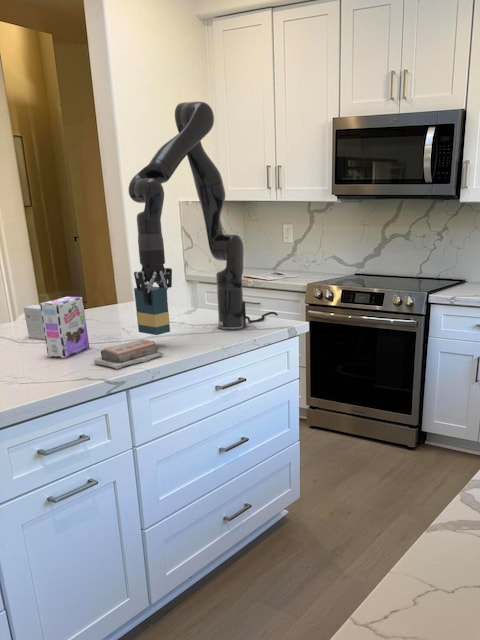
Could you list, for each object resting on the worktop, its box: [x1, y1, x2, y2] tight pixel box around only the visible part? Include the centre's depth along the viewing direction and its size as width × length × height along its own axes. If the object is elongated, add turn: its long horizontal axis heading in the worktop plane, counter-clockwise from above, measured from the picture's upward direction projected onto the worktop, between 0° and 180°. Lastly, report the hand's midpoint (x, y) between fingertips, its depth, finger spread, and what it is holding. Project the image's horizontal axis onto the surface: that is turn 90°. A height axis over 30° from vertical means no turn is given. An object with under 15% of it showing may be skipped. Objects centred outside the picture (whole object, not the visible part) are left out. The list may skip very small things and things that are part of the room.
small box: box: [23, 304, 46, 341], centre depth 206 cm, size 8×6×10 cm
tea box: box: [133, 285, 171, 336], centre depth 194 cm, size 14×6×8 cm
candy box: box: [39, 296, 90, 359], centre depth 186 cm, size 14×6×16 cm, turn 168°
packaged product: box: [93, 339, 164, 370], centre depth 180 cm, size 18×5×10 cm
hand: (156, 303), depth 192 cm, fingers closed on tea box, 6 cm apart
